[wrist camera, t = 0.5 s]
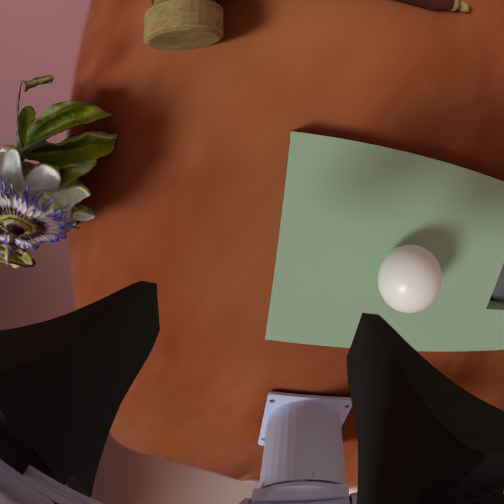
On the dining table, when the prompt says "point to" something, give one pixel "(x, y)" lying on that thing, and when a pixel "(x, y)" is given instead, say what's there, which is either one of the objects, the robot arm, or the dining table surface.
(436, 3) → the gavel
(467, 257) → the putting mat
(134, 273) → the dining table surface
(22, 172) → the passion flower
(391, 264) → the ball
